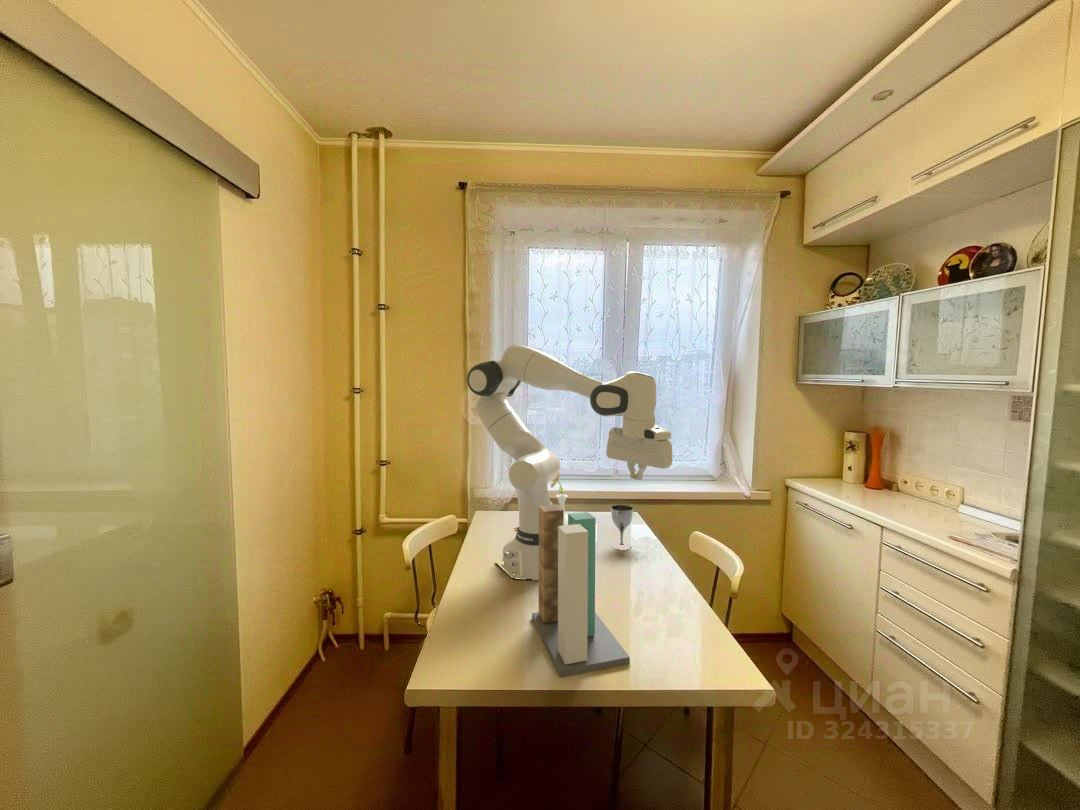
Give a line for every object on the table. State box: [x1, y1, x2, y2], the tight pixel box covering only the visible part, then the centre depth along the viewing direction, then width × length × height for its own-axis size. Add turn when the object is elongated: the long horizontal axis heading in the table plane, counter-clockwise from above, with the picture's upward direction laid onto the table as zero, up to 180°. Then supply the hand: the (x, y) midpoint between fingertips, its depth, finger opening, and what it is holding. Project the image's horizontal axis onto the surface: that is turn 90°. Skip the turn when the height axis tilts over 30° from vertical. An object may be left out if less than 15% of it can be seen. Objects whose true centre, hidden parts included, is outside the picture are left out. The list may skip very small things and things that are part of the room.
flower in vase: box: [550, 471, 568, 525], centre depth 179 cm, size 13×11×25 cm
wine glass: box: [610, 504, 634, 545], centre depth 159 cm, size 8×8×15 cm
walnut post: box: [538, 504, 565, 623], centre depth 107 cm, size 5×5×28 cm
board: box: [531, 611, 631, 678], centre depth 101 cm, size 16×23×2 cm
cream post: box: [558, 524, 588, 665], centre depth 91 cm, size 5×5×28 cm
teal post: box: [567, 511, 597, 637], centre depth 101 cm, size 5×5×28 cm
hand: (636, 479), depth 119 cm, fingers closed
